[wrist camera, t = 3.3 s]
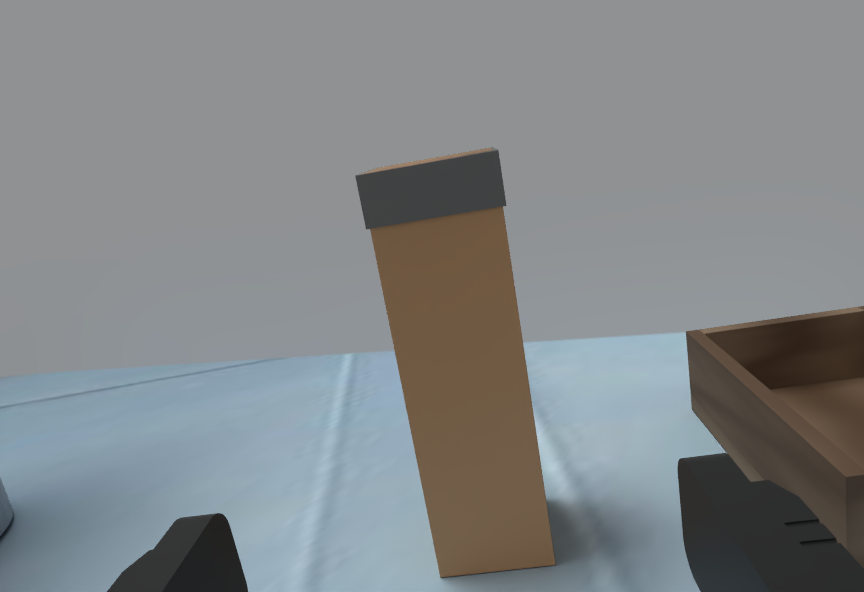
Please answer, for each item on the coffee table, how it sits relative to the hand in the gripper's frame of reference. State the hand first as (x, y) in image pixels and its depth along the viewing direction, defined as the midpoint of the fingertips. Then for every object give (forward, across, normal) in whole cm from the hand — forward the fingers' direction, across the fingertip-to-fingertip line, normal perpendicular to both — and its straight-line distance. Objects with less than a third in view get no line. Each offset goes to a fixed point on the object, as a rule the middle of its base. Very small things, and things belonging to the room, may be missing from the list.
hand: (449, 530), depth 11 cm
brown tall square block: (+11, 0, +8) cm, 13 cm away
